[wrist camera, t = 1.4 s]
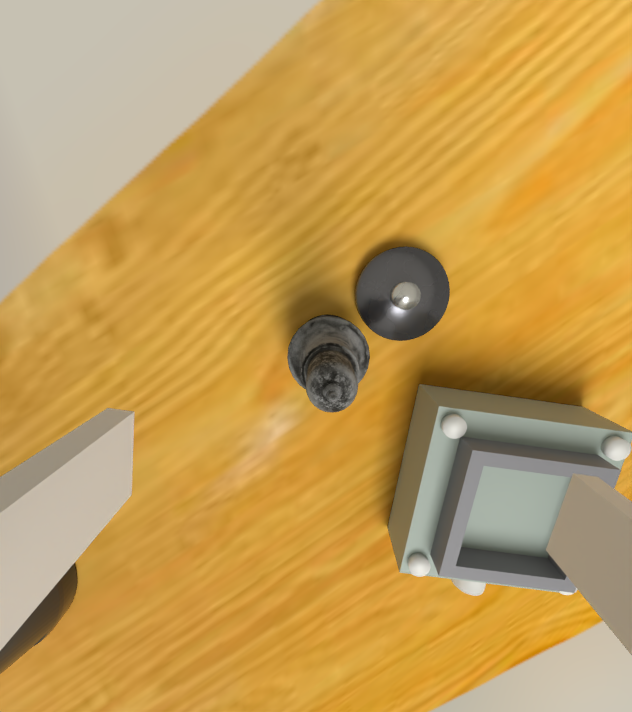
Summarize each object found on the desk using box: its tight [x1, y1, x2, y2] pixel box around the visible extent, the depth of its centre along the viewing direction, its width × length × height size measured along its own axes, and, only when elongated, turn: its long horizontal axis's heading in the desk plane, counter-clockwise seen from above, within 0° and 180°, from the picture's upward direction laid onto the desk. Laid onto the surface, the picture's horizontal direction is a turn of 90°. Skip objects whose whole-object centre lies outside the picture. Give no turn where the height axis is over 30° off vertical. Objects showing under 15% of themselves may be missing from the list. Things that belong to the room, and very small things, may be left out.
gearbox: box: [388, 384, 632, 596], centre depth 28 cm, size 14×16×7 cm
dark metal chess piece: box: [287, 315, 370, 412], centre depth 23 cm, size 6×6×12 cm
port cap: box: [355, 247, 450, 341], centre depth 27 cm, size 7×7×2 cm
